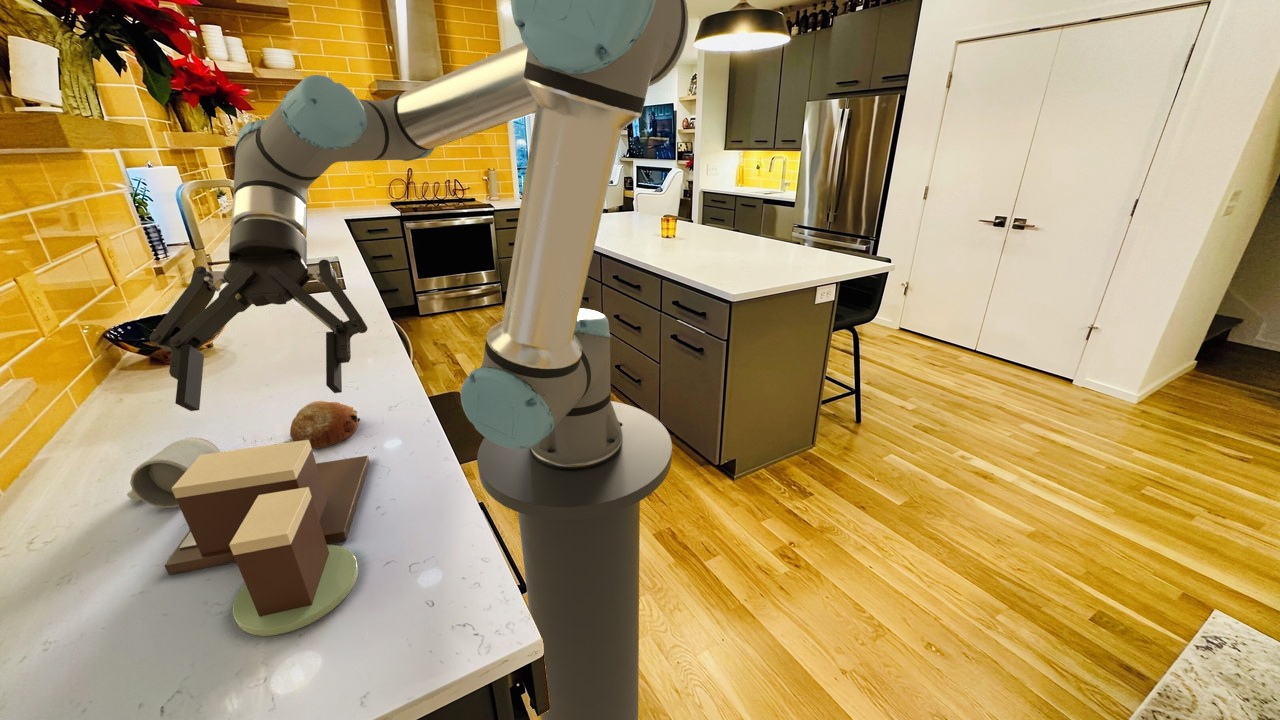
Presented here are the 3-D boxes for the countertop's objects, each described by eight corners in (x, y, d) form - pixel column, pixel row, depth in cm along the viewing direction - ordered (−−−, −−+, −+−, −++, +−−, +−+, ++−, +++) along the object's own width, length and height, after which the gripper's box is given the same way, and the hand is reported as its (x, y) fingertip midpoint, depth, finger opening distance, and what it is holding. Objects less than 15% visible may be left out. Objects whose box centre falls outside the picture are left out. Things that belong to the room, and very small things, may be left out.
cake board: (370, 463, 80) (368, 455, 80) (346, 540, 65) (344, 531, 64) (230, 484, 75) (227, 476, 75) (168, 575, 59) (163, 565, 59)
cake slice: (329, 552, 62) (308, 486, 58) (312, 605, 55) (287, 533, 51) (282, 562, 60) (258, 494, 56) (258, 617, 53) (228, 544, 49)
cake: (327, 500, 70) (309, 439, 66) (314, 534, 64) (292, 469, 60) (225, 518, 66) (200, 454, 62) (201, 556, 60) (171, 488, 56)
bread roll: (316, 440, 93) (284, 409, 89) (367, 410, 95) (337, 379, 90) (307, 469, 85) (271, 437, 81) (363, 436, 86) (330, 403, 82)
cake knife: (228, 480, 74) (226, 473, 73) (244, 477, 74) (242, 471, 74) (179, 549, 61) (176, 542, 61) (199, 546, 62) (195, 538, 61)
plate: (366, 541, 65) (364, 535, 64) (347, 618, 54) (345, 612, 54) (258, 563, 61) (256, 556, 61) (215, 649, 51) (212, 642, 50)
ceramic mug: (233, 470, 78) (216, 428, 75) (204, 504, 71) (183, 459, 68) (154, 480, 76) (133, 437, 73) (116, 516, 69) (90, 470, 66)
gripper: (388, 247, 68) (396, 392, 61) (165, 258, 61) (144, 425, 54) (374, 211, 61) (381, 370, 54) (121, 219, 54) (91, 403, 47)
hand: (263, 398), depth 54 cm, fingers open, 13 cm apart
